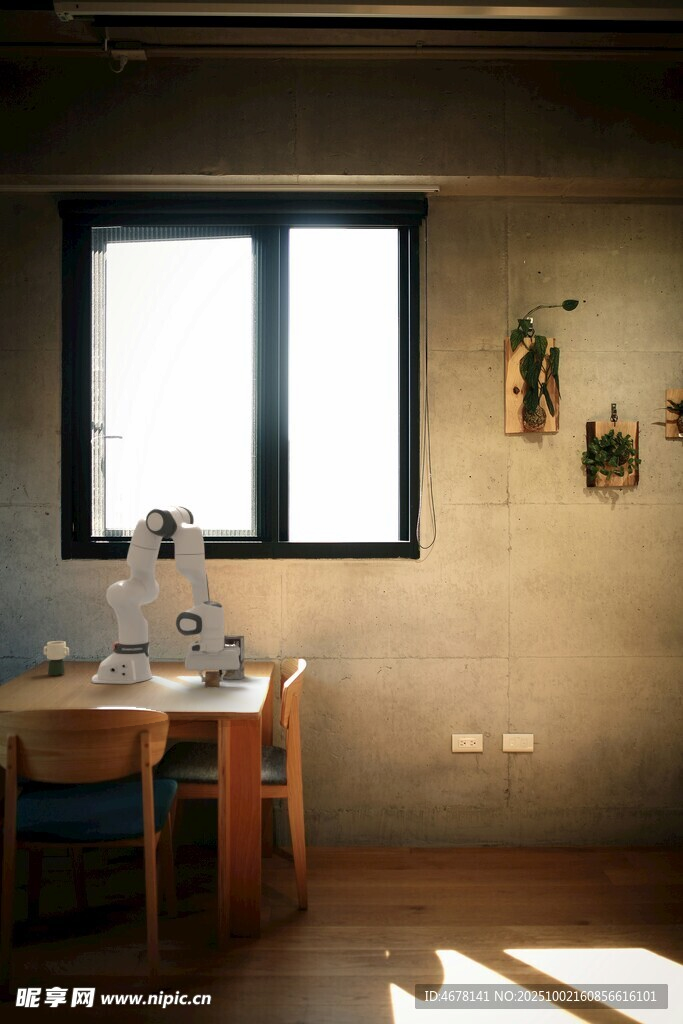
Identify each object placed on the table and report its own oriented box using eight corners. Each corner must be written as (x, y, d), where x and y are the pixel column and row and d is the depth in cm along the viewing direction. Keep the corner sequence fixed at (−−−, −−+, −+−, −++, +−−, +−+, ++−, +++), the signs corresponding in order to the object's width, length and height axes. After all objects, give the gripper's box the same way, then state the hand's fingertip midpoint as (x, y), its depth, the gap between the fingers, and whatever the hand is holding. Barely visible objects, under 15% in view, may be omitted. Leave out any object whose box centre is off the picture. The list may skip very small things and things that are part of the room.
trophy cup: (73, 673, 303) (73, 641, 303) (64, 677, 296) (64, 644, 296) (48, 672, 305) (48, 640, 305) (38, 676, 298) (38, 643, 298)
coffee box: (244, 676, 301) (245, 635, 301) (241, 679, 295) (241, 638, 295) (222, 675, 302) (222, 635, 302) (218, 679, 296) (218, 637, 295)
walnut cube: (205, 687, 282) (205, 674, 282) (205, 684, 287) (205, 671, 287) (218, 687, 282) (218, 674, 282) (219, 684, 287) (219, 671, 287)
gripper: (240, 642, 289) (240, 679, 289) (185, 643, 286) (185, 680, 286) (240, 646, 283) (240, 682, 283) (184, 647, 280) (184, 684, 280)
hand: (212, 681), depth 285 cm, fingers closed on walnut cube, 5 cm apart
